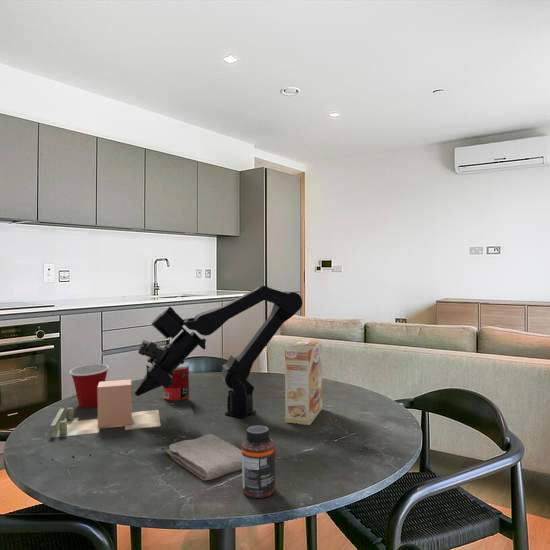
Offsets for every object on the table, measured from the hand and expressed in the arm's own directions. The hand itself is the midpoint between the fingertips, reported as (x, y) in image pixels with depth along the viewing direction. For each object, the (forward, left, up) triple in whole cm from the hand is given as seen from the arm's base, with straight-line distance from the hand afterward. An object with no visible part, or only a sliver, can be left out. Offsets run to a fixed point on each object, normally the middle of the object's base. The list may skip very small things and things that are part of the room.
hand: (135, 394), depth 117 cm
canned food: (+7, -21, -8) cm, 24 cm away
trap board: (+4, +5, -8) cm, 10 cm away
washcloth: (-31, +7, -8) cm, 33 cm away
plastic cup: (+23, -2, -8) cm, 25 cm away
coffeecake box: (-34, -29, -8) cm, 46 cm away
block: (+3, +4, -7) cm, 8 cm away
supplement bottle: (-48, +13, -8) cm, 50 cm away
